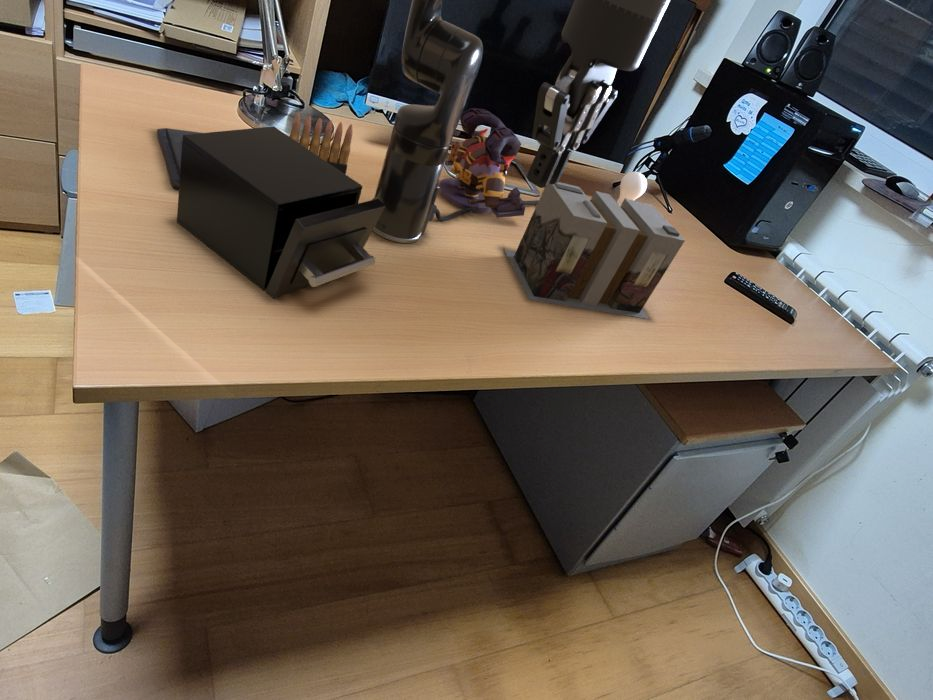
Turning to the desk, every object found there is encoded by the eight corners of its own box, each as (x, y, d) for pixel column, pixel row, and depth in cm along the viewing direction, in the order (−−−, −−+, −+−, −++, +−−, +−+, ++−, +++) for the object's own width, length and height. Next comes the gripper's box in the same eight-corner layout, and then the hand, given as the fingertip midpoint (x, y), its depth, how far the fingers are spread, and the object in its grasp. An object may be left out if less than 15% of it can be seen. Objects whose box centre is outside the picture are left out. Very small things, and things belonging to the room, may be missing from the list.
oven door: (367, 287, 92) (404, 224, 84) (291, 319, 80) (324, 249, 72) (344, 263, 93) (378, 198, 85) (265, 290, 81) (295, 218, 73)
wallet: (157, 120, 104) (250, 134, 112) (156, 131, 105) (249, 144, 113) (170, 178, 91) (274, 189, 99) (169, 190, 92) (273, 200, 100)
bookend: (649, 318, 113) (697, 243, 104) (529, 300, 103) (570, 215, 94) (614, 270, 124) (655, 198, 115) (503, 249, 115) (538, 169, 105)
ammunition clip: (340, 186, 112) (355, 123, 105) (342, 191, 111) (357, 127, 104) (280, 176, 107) (291, 109, 100) (281, 182, 106) (293, 114, 99)
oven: (342, 263, 93) (362, 185, 85) (263, 291, 81) (278, 204, 74) (261, 204, 98) (273, 126, 90) (176, 222, 87) (182, 134, 79)
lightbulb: (633, 222, 150) (656, 181, 144) (614, 219, 147) (636, 177, 141) (620, 209, 154) (642, 169, 148) (601, 206, 151) (623, 164, 145)
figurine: (520, 228, 125) (554, 151, 115) (462, 223, 117) (493, 140, 108) (477, 179, 137) (505, 106, 127) (422, 172, 130) (447, 94, 120)
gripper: (632, 11, 47) (540, 212, 57) (682, 21, 57) (597, 189, 67) (551, -28, 49) (477, 173, 59) (614, -11, 59) (542, 157, 69)
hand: (541, 181), depth 63 cm, fingers closed
